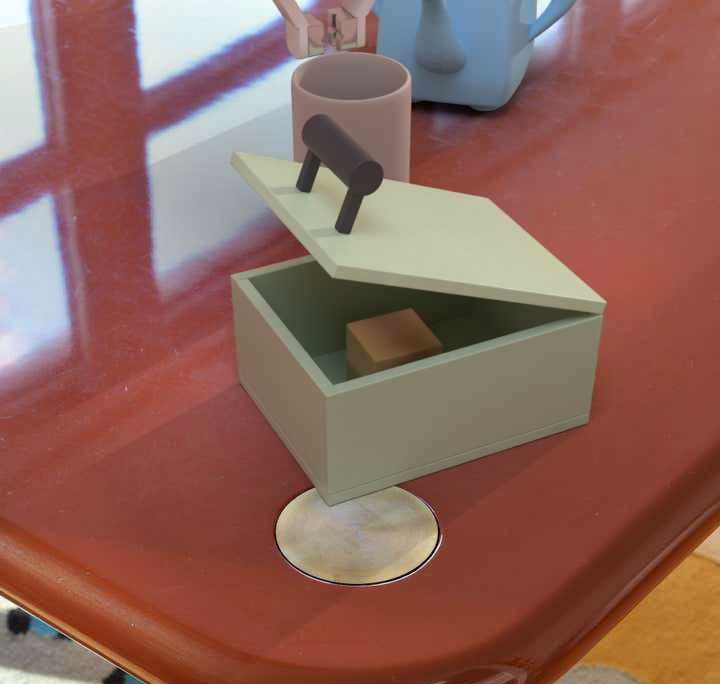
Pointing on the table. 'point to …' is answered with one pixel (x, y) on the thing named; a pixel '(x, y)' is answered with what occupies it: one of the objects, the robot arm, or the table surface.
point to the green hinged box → (404, 376)
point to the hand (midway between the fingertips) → (326, 49)
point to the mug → (357, 105)
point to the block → (388, 343)
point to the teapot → (463, 45)
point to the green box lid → (405, 227)
